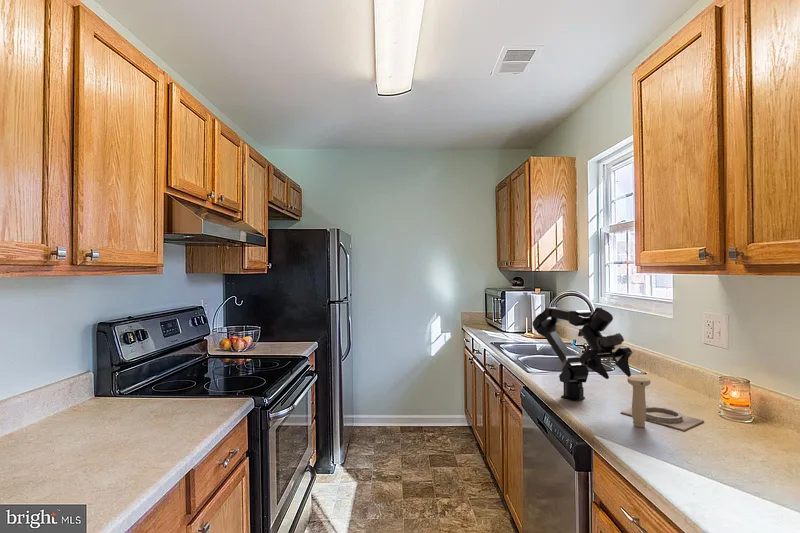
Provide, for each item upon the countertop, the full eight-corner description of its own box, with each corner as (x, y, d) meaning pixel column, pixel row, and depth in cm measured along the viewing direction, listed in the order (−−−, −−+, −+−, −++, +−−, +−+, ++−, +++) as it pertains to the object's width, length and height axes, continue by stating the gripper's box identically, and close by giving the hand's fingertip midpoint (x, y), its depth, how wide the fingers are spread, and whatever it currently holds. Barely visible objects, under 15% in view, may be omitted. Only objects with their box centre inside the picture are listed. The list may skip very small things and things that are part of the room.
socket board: (620, 413, 151) (620, 408, 151) (641, 405, 159) (641, 401, 159) (683, 431, 135) (683, 425, 135) (704, 422, 143) (704, 416, 143)
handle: (653, 429, 136) (652, 381, 136) (631, 428, 137) (630, 380, 137) (646, 424, 141) (646, 377, 141) (625, 423, 142) (625, 376, 142)
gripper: (584, 326, 149) (609, 366, 139) (628, 324, 155) (655, 361, 144) (569, 345, 157) (591, 384, 146) (611, 342, 162) (635, 379, 152)
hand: (619, 377), depth 147 cm, fingers open, 9 cm apart
